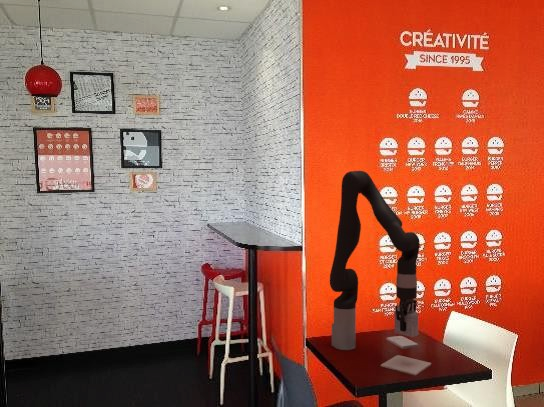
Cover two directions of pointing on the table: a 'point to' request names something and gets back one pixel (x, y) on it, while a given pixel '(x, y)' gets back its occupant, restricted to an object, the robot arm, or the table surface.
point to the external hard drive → (402, 342)
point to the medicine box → (408, 325)
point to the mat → (406, 365)
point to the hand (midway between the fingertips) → (406, 329)
